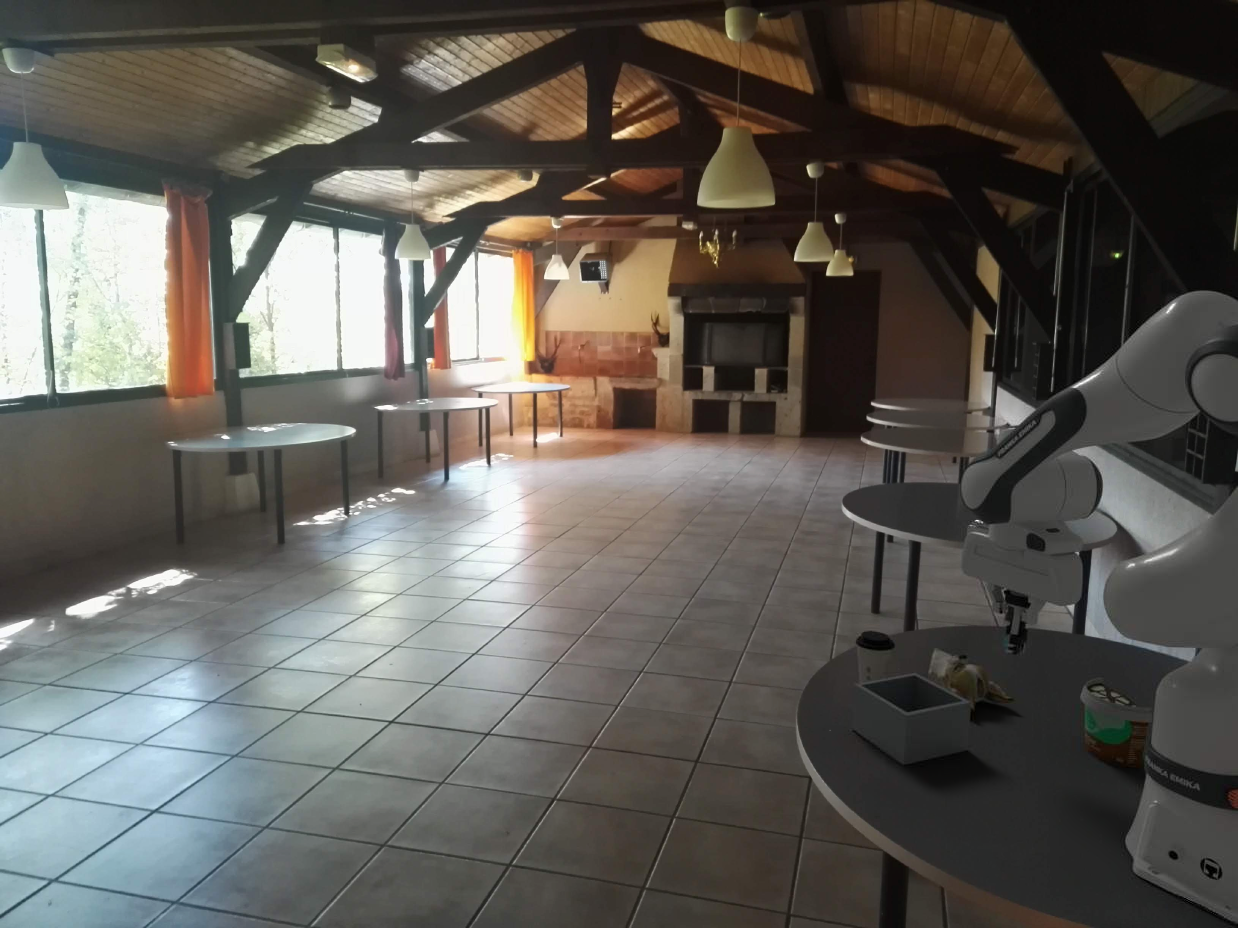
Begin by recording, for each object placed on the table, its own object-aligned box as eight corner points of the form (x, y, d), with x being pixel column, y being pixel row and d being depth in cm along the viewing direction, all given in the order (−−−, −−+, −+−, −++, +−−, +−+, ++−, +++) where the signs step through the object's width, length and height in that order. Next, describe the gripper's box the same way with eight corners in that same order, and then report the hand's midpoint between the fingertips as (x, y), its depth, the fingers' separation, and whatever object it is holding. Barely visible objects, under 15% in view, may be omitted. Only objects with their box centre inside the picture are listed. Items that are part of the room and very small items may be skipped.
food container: (1059, 735, 143) (1064, 677, 141) (1095, 734, 143) (1100, 676, 142) (1108, 774, 130) (1114, 710, 129) (1147, 772, 131) (1153, 709, 129)
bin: (967, 749, 138) (971, 702, 136) (903, 764, 133) (906, 715, 132) (912, 717, 149) (915, 672, 148) (851, 729, 144) (854, 684, 143)
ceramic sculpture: (958, 635, 163) (1022, 669, 150) (954, 678, 165) (1016, 715, 152) (913, 643, 160) (974, 678, 146) (908, 687, 161) (968, 726, 148)
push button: (1025, 660, 131) (1036, 595, 130) (988, 650, 134) (998, 587, 133) (1035, 652, 136) (1046, 590, 135) (999, 643, 139) (1009, 582, 138)
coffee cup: (900, 691, 160) (903, 638, 158) (871, 698, 157) (874, 644, 155) (874, 677, 166) (876, 627, 164) (845, 683, 163) (847, 632, 161)
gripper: (953, 518, 141) (949, 601, 143) (1060, 546, 122) (1053, 641, 124) (983, 515, 143) (978, 597, 145) (1093, 542, 125) (1085, 635, 127)
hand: (1014, 617), depth 135 cm, fingers closed on push button, 4 cm apart
